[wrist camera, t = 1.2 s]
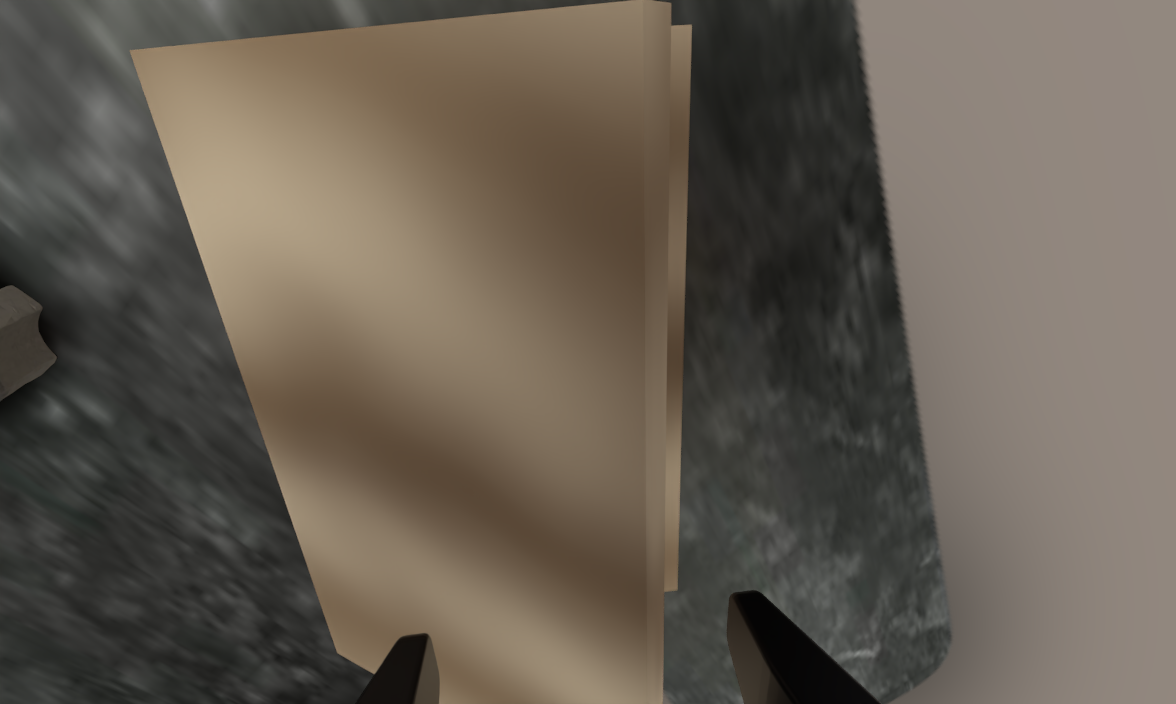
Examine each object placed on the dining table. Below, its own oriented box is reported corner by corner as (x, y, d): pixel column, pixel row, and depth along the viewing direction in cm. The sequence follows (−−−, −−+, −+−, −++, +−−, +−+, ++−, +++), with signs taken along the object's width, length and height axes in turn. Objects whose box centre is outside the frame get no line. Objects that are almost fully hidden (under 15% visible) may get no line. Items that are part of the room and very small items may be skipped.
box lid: (661, 796, 14) (647, 831, 13) (358, 632, 18) (337, 653, 18) (670, 3, 7) (643, 0, 6) (174, 50, 11) (129, 50, 11)
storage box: (645, 490, 24) (677, 590, 19) (389, 519, 23) (359, 630, 18) (643, 35, 17) (692, 24, 12) (272, 53, 16) (178, 49, 11)
